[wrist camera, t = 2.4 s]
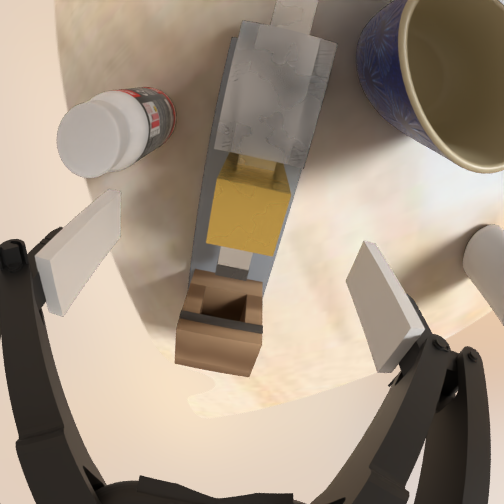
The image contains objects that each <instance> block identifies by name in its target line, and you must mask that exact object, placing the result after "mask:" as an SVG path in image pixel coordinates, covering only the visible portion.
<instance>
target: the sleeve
mask: <svg viewBox="0 0 504 504" xmlns="http://www.w3.org/2000/svg"><path fill="white" fill-rule="evenodd" d="M337 45H338V44H337V43H334V42H331V41H328V40H325V39H321V38H318V37H315V36H311V35H308V34H304V33H300V32H296V31H292V30H288V29H284V28H280V27H275V26H271V25H266V24H260V23H255V22H249V21H242V25H241V28H240V32H239V36H238V40H237V44H236V48H235V52H234V57H233V61H232V65H231V69H230V74H229V78H228V82H227V87H226V92H225V96H224V101H223V106H222V110H221V115H220V120H219V125H218V130H217V135H216V140H215V146H214V149H217V150H222V151H228V152H233V153H238V154H243V155H247V156H252V157H257V158H261V159H266V160H270V161H274V162H279V163H283V164H287V165H291V166H295V167H299V168H303V169H304V166H305V162H306V159H307V155H308V152H309V148H310V145H311V141H312V138H313V134H314V131H315V127H316V124H317V120H318V116H319V113H320V109H321V106H322V102H323V98H324V95H325V91H326V87H327V83H328V80H329V76H330V72H331V68H332V65H333V61H334V57H335V53H336V49H337Z"/></svg>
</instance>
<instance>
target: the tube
mask: <svg viewBox="0 0 504 504" xmlns="http://www.w3.org/2000/svg"><path fill="white" fill-rule="evenodd" d="M317 4H318V0H277V2H276V6H275V9H274V13H273V17H272V21H271V24H270V25H271V26H275V27H280V28H284V29H288V30H292V31H296V32H300V33H304V34H308V35H310V31H311V27H312V23H313V19H314V15H315V12H316V8H317ZM290 198H291V191H290V187H289V183H288V179H287V175H286V171H285V168H284V164H283V163H279V162H274V161H270V160H266V159H261V158H257V157H252V156H247V155H243V154H238V153H233V152H229V155H228V157H227V159H226V161H225V163H224V165H223V167H222V169H221V171H220V173H219V175H218V177H217V181H216V186H215V192H214V198H213V203H212V209H211V215H210V221H209V227H208V233H207V239H206V243H208V244H213V245H218V246H221V248H220V253H219V257H218V262H217V266H216V272H215V275H218V276H223V277H228V278H233V279H238V280H243V281H246V280H247V277H248V273H249V266H250V262H251V258H252V255H253V253H257V254H262V255H267V256H272V257H273V255H274V251H275V248H276V245H277V241H278V238H279V235H280V231H281V228H282V225H283V221H284V218H285V215H286V211H287V208H288V205H289V201H290Z"/></svg>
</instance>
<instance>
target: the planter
mask: <svg viewBox="0 0 504 504" xmlns="http://www.w3.org/2000/svg"><path fill="white" fill-rule="evenodd" d="M356 65H357V72H358V76H359V80H360V83H361V86H362V88H363V90H364V92H365V94H366V96H367V98H368V99H369V101H370V102H371V104H372V105H373V107H374V108H375V109H376V110H377V111H378V113H379V114H380V115H381V116H382V117H383V118H384V119H385V120H387V121H388V122H389V123H390V124H391V125H393V126H394V127H395V128H397V129H398V130H400V131H401V132H403V133H404V134H406V135H407V136H409V137H411V138H412V139H414V140H416V141H417V142H419V143H421V144H423V145H425V146H426V147H428V148H430V149H432V150H433V151H435V152H437V153H439V154H440V155H442V156H444V157H445V158H447V159H449V160H450V161H452V162H453V163H455V164H457V165H458V166H460V167H462V168H464V169H467V170H469V171H473V172H476V173H495V172H499V171H502V170H504V5H503V4H502V3H500V2H499V1H498V0H395V1H393V2H392V3H390V4H389V5H387V6H386V7H384V8H383V9H382V10H381V11H379V12H378V13H377V14H376V15H375V16H374V17H373V18H372V19H371V20H370V21H369V23H368V24H367V25H366V26H365V28H364V30H363V32H362V34H361V36H360V38H359V42H358V46H357V52H356Z"/></svg>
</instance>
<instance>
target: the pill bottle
mask: <svg viewBox="0 0 504 504" xmlns="http://www.w3.org/2000/svg"><path fill="white" fill-rule="evenodd" d="M175 123H176V112H175V108H174V105H173V103H172V101H171V100H170V98H169V97H168V96H167V95H166V94H165V93H163V92H162V91H160V90H158V89H155V88H149V87H142V88H132V89H121V90H112V91H106V92H103V93H100V94H98V95H96V96H94V97H93V98H91V99H90V100H89V101H88V102H85V103H81V104H78V105H76V106H74V107H73V108H72V109H70V110H69V111H68V112H67V113H66V114H65V116H64V117H63V119H62V121H61V123H60V125H59V128H58V133H57V148H58V152H59V155H60V157H61V160H62V161H63V163H64V164H65V166H66V167H67V168H68V169H69V170H70V171H71V172H73V173H74V174H76V175H78V176H80V177H84V178H95V177H98V176H101V175H103V174H105V173H106V172H115V171H120V170H123V169H125V168H127V167H129V166H131V165H132V164H134V163H135V162H137V161H138V160H139V159H141V158H142V157H144V156H145V155H147V154H148V153H150V152H152V151H153V150H155V149H156V148H158V147H159V146H161V145H162V144H163V143H165V142H166V141H167V140H168V138H169V137H170V136H171V134H172V132H173V130H174V127H175Z"/></svg>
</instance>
